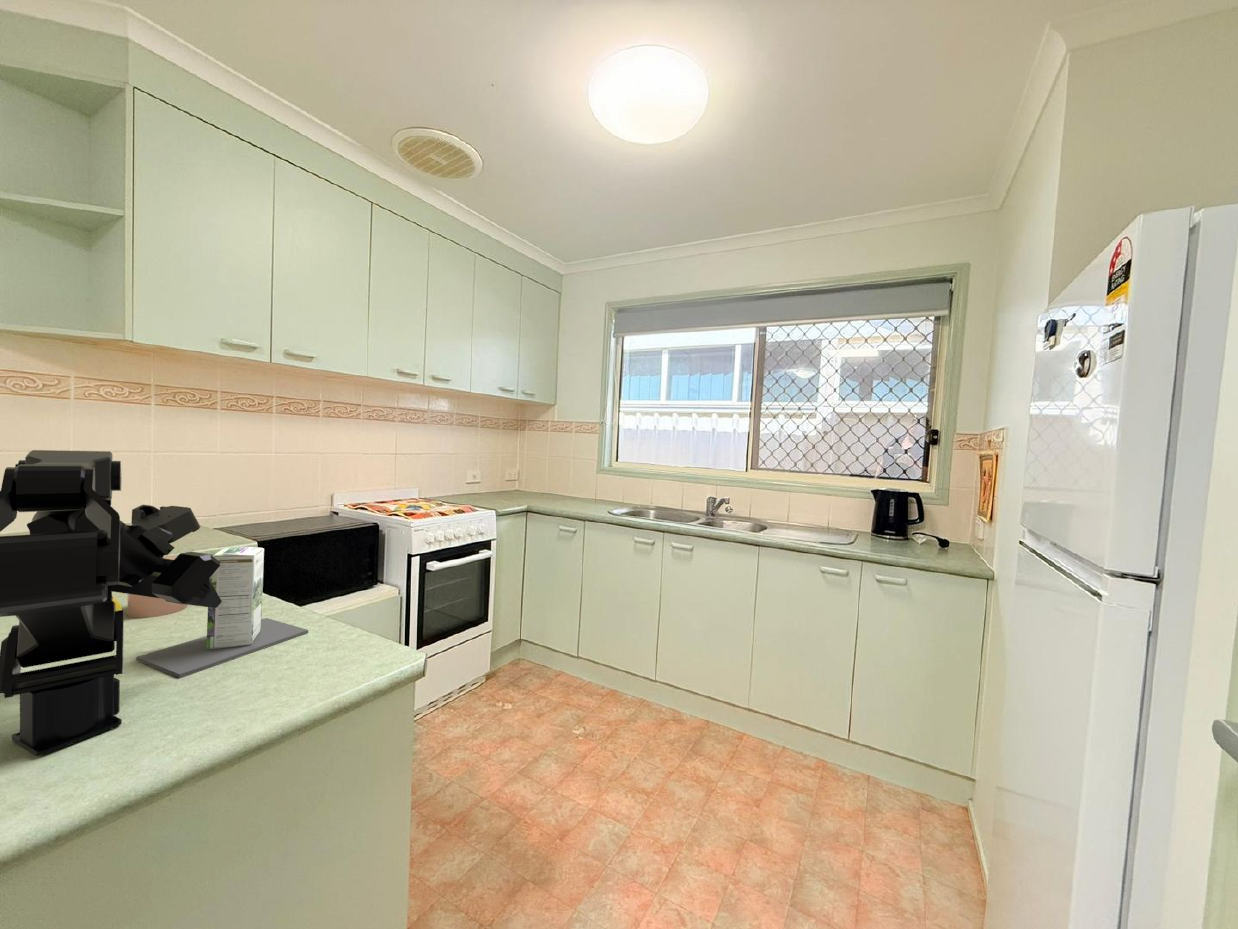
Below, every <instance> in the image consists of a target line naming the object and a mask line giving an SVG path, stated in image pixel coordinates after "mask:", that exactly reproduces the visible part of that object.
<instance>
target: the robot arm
mask: <svg viewBox="0 0 1238 929" xmlns="http://www.w3.org/2000/svg"><path fill="white" fill-rule="evenodd" d="M115 491H116V492H122V462H121V460H113V453H112V452H111V451H109V450H108V451H105V450H104V451H103V450H101V451H99V450H98V451H97V450H51V449H50V450H48V449H47V450H46V449H44V450H43V449H33V450H31V451H29V452H28V453H27V455H25V458H24V459H19V460H18V463H15V466H14V467H13V466H8V467H6V468H5V469H4V473H3V477H2V482H1V488H0V533H1V532H2V531H3V530H5V529H6V528H7V527H8V526H10V525H11V524H12V523H13V522H14V521H15V520H16V519H17V515H18V512H19V513H31V512H33V513H34V512H35V513H34V515H33V517H32V520H31V521H30V522H27V524H26V528H27V529H28V531H29V534H18V535H17V534H16V535H0V618H2V617H14V616H15V617H16V618H17V620H18V624H15V625H12V627H11V628H10V632H9V633H8V636H7V637H6V638H4V639H3V640H2V641H1V642H0V694H3V695H4V696H3V697H4V699H7V698H11V697H12V698H13V696H18V695H19V732H16V733H13V734H12V735H11V741H13V742H14V743H16V744H18V745H19V746H21V747H22V748H24V749H26V750H27V751H29V752H31V753H32V754H34V755H35V756H39V757H40V756H45V755H47V754H50V753H53V752H55V751H57V750H59V749H62V748H66V747H67V746H71V745H73V744H75V743H78V742H80V741H83V740H86V739H88V738H91V737H93V736H96V735H98V734H101V733H104V732H106V731H109V730H112V729H114V728H116V727H119V726H121V725H122V722H123V721H122V718H120V717H118V716H117V715H119V713H120V704H121V702H120V701H121V700H120V698H121V697H120V696H121V695H120V690H121V688H120V687H121V686H120V685H121V684H120V683H121V680H120V679H119V678H116V677H115V675H116V676H118V675H123V671H124V670H123V668H124V634H125V633H124V627H125V626H124V624H125V622H124V621H125V616H124V614H125V613H124V612H125V611H124V610H125V609H122V610H119V611H116V607H115V602H113V601H112V600H113V598H114V597H113V593H118V594H119V593H120V594H127V595H128V594H133V595H140V596H147V597H154V598H161V599H164V600H165V601H167V602H172V603H178V604H186V605H187V606H196V607H205V608H208V607H211V608H217V607H218V606H219V605H220V603H221V602H222V601H221V599H220V597H219V595H218V594H217V592H216V590H215V589H214V587H213V585H212V583H211V581H210V577H211V576H212V575H213V573H214V572H215V571H216V570H217V569H218V568H219V567H220V561H218V560H217V559H216V558H214V557H213V555H212V554H209V553H203V552H196V551H188V552H187V551H185V552H183V553H182V552H181V553H179V554H178V555H177V556H175V557H176V558H175V559H174V560H171V559H165V558H163V557H165V556H168V555H169V554H171V553H172V551H173V550H174V549H175V548H176V547H175V546H174V545H172V543H175V542H176V541H179V540H180V539H182V538H184V537H186V536H187V535H189V534H191V533H195V532H197V531H198V530H200V529H201V525H200V523H199V522H198V520H197V518H196V516H195V514H194V511H193V510H192V508H191V507H187V506H177V505H169V506H168V505H167V506H163V505H162V506H160V507H159V508H157V507H155V506H154V505H150V504H141V505H139V506H137V507H135V508H133V509H131V521H130V522H131V525H130V524H129V525H128V524H126V523H125V522H123V521H122V520H121V516H120V513H119V512H118V511H117V510H116V509H114V507H113V506H112V498H113V492H115ZM114 651H115V654H113V655H109V656H108V655H107V656H102V657H98V658H93V659H87V660H82V661H77V662H71V663H66V664H65V663H64V664H60V665H54V666H51V667H44V668H40V669H34V670H29V671H24V672H22V668H23V669H25V668H30V667H36V666H37V667H38V666H42V665H47V664H53V663H57V662H63V661H69V660H76V659H80V658H85V657H91V656H97V655H101V654H109V653H112V652H114Z"/></svg>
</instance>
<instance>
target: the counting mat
mask: <svg viewBox="0 0 1238 929" xmlns="http://www.w3.org/2000/svg"><path fill="white" fill-rule="evenodd" d="M308 633H309V629H307V628H304V627H300V626H296V625H293V624H288V623H286V622H282V621H278V620H275V619H272V618H268V617H265V618H261V631H260V633H259V634H258V636H257V637H256V638H255V640H254V641H253V643H252V644H251V645H243V646H235V647H226V648H216V649H207V648H206V645H207V635H205V636H202V637H198V638H195V639H192V640H188V641H186V642H181V643H178V644H175V645H171V646H168V647H164V648H161V649H158V650H154V651H151V652H148V653H144V654H141V655H138V656H135V661H137V662H140V663H142V664H144V665H147V666H149V667H152V668H154V669H156V670H159V671H162V672H164V673H167V674H169V675H172V676H174V677H177V678H180V679H181V678H184V677H186V676H190V675H192V674H195V673H197V672H200V671H203V670H207V669H209V668H212V667H215V666H218V665H221V664H223V663H226V662H229V661H231V660H235V659H238V658H240V657H243V656H246V655H250V654H252V653H255V652H258V651H261V650H263V649H266V648H269V647H272V646H275V645H277V644H281V643H283V642H286V641H289V640H291V639H294V638H297V637H300V636H303V635H306V634H308Z"/></svg>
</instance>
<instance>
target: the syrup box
mask: <svg viewBox="0 0 1238 929" xmlns="http://www.w3.org/2000/svg"><path fill="white" fill-rule="evenodd" d="M212 556H213V557H214V558H216V559H217V560H218V561H220V567H219V568H218V569H217V570H216V571H215V572H214V573H213V575H212V576H211V577H210V581H211V583H212V585H213V587H214V589H215V590H216V592H217V594H218V595H219V597H220V599H221V601H222V602H221V603H220V605H219V606H218V607H217V608H211V607H207V620H206V621H207V623H206V625H207V626H206V636H207V645H206V648H207V649H216V648H226V647H235V646H243V645H251V644H252V643H253V641H254V640H255V638H256V637H257V636H258V634H259V633H260V631H261V619H262V613H263V591H264V590H263V588H264V564H265V563H264V562H265V560H264V559H265V558H264V557H265V548H263V547H257V546H256V547H255V546H235V547H225V548H222V549H220V550H219V551H218V552H216V553H215V554H213V555H212Z"/></svg>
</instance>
